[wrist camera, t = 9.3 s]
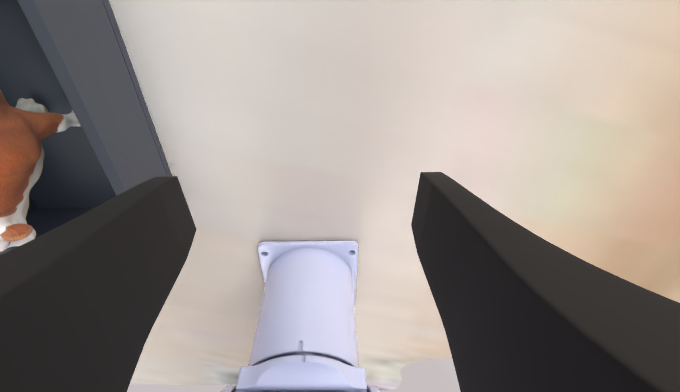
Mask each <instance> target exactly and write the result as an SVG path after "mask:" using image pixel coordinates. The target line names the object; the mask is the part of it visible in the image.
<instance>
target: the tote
mask: <svg viewBox="0 0 680 392" xmlns="http://www.w3.org/2000/svg"><path fill="white" fill-rule="evenodd" d="M0 90H1V92H2V94H3V96H4V97H5V99H6V101H7V102H8V104H9V105H10V106H12V107H14V108H15V107H16V105H17V101H18V100H19V99H21V98H24V99H33V100H34V101H35V103H37V104H43V105H44V106H46V108H47V109H48V111H49V113H58V114H69V113H70V112H71V111H72V110H73V112H74V114H75V116H76V117H77V119H78V121H79V123H80V125H81V126H80V127H77V126H71V127H68V128H67V129H66V130H65V131H63V132H54V133H52V134H51V135H49V136H47V137H46V138H44V139H43V140H42V141H41V144H42V147H43V149H44V153H45V155H44V159H43V169H42V172H41V175H40V177H39V179H38V181H37V182H36V183H35V184H34V186H33V187H32V188H31V190H30V192H29V208H28V211H27V215H26V222H27V224H28V225H31V226H32V227H33V229H34V230H35V231H36V237H35V238H37V237H39V236H41V235H43V234H45V233H47V232H49V231H51V230H53V229H55V228H57V227H59V226H61V225H63V224H65V223H67V222H69V221H71V220H73V219H75V218H77V217H79V216H80V215H82V214H84V213H86V212H88V211H90V210H92V209H93V208H95V207H97V206H99V205H101V204H103V203H105V202H106V201H108V200H110V199H112V198H114V197H116V196H117V195H119V194H121V193H123V192H125V191H127V190H129V189H131V188H133V187H135V186H136V185H138V184H141V183H143V182H145V181H147V180H149V179H152V178H154V177H170V176H172V175H171V173H170V170H169V167H168V164H167V162H166V159H165V156H164V153H163V150H162V148H161V145H160V142H159V139H158V137H157V134H156V131H155V128H154V126H153V123H152V120H151V117H150V114H149V112H148V109H147V106H146V103H145V101H144V98H143V95H142V92H141V90H140V87H139V84H138V81H137V78H136V76H135V73H134V70H133V67H132V65H131V62H130V59H129V56H128V53H127V51H126V48H125V45H124V42H123V40H122V37H121V34H120V31H119V29H118V26H117V23H116V20H115V17H114V15H113V12H112V9H111V6H110V4H109V1H108V0H0ZM16 247H19V246H13V247H9V248H7V249H5V250H4V251H1V252H0V255H1V254H3V253H6V252H8V251H10V250H12V249H14V248H16Z"/></svg>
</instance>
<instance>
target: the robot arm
mask: <svg viewBox="0 0 680 392" xmlns="http://www.w3.org/2000/svg"><path fill="white" fill-rule="evenodd" d="M411 225H412V230H413V235H414V240H415V244H416V249H417V253H418V256H419V259H420V262H421V264H422V267H423V270H424V273H425V276H426V278H427V281H428V284H429V286H430V289H431V292H432V295H433V297H434V300H435V303H436V305H437V308H438V311H439V314H440V316H441V319H442V322H443V325H444V328H445V331H446V335H447V338H448V342H449V346H450V350H451V354H452V358H453V362H454V366H455V370H456V374H457V378H458V382H459V386H460V391H461V392H680V303H678V302H676V301H673V300H671V299H668V298H666V297H663V296H661V295H659V294H656V293H654V292H651V291H649V290H647V289H644V288H642V287H640V286H637V285H635V284H633V283H631V282H629V281H626V280H624V279H622V278H620V277H618V276H615V275H613V274H611V273H609V272H607V271H604V270H602V269H600V268H598V267H596V266H594V265H592V264H590V263H588V262H586V261H584V260H582V259H580V258H578V257H576V256H574V255H572V254H570V253H568V252H566V251H564V250H562V249H561V248H559V247H557V246H555V245H553V244H551V243H549V242H547V241H546V240H544V239H542V238H540V237H539V236H537V235H535V234H533V233H532V232H530V231H529V230H527V229H525V228H524V227H522V226H520V225H519V224H517V223H516V222H514V221H512V220H511V219H509V218H508V217H506V216H505V215H503V214H502V213H500V212H499V211H497V210H496V209H494V208H493V207H491V206H490V205H488V204H487V203H485V202H484V201H482V200H481V199H480V198H478V197H477V196H475V195H474V194H473V193H471V192H470V191H468V190H467V189H466V188H464V187H463V186H461V185H460V184H458V183H457V182H456V181H454V180H453V179H451V178H450V177H448V176H447V175H445V174H443V173H442V172H421V174H420V179H419V185H418V191H417V196H416V202H415V207H414V213H413V219H412V224H411ZM195 232H196V227H195V224H194V222H193V219H192V216H191V213H190V211H189V208H188V205H187V203H186V200H185V197H184V194H183V192H182V189H181V186H180V183H179V181H178V178H177V176H170V177H154V178H152V179H149V180H147V181H145V182H143V183H141V184H138V185H136V186H135V187H133V188H131V189H129V190H127V191H125V192H123V193H121V194H119V195H117V196H116V197H114V198H112V199H110V200H108V201H106V202H105V203H103V204H101V205H99V206H97V207H95V208H93V209H92V210H90V211H88V212H86V213H84V214H82V215H80V216H79V217H77V218H75V219H73V220H71V221H69V222H67V223H65V224H63V225H61V226H59V227H57V228H55V229H53V230H51V231H49V232H47V233H45V234H43V235H41V236H39V237H37V238H35V239H33V240H31V241H29V242H27V243H25V244H23V245H21V246H19V247H16V248H14V249H12V250H10V251H8V252H6V253H3V254H1V255H0V392H127V389H128V386H129V384H130V381H131V378H132V376H133V373H134V370H135V368H136V365H137V362H138V360H139V357H140V355H141V352H142V349H143V347H144V344H145V342H146V340H147V338H148V335H149V333H150V331H151V329H152V327H153V325H154V323H155V321H156V319H157V317H158V315H159V313H160V311H161V309H162V307H163V305H164V303H165V301H166V299H167V297H168V295H169V293H170V291H171V289H172V287H173V285H174V283H175V281H176V279H177V277H178V275H179V273H180V271H181V269H182V267H183V265H184V263H185V261H186V259H187V256H188V253H189V251H190V248H191V245H192V242H193V238H194V235H195ZM257 250H258V254H259V259H260V264H261V269H262V274H263V279H264V284H265V289H264V293H263V298H262V303H261V308H260V312H259V317H258V322H257V327H256V331H255V336H254V341H253V345H252V350H251V355H250V360H249V364H248V366H247V367H241V368H240V372H239V376H238V380H237V385H230V386H226V387H225V388H224V389H223V390H222V391H221V392H380V390H379V389H378V387H377V386H373V385H367V384H366V373H365V368H364V367H359V359H358V346H357V334H356V321H355V293H356V277H357V262H358V243H357V242H356V241H286V242H261V243H259V244H258V248H257ZM351 250H353V251H352V252H351ZM264 252H267V253H264Z"/></svg>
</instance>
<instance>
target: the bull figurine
mask: <svg viewBox="0 0 680 392" xmlns="http://www.w3.org/2000/svg"><path fill="white" fill-rule="evenodd" d="M71 126H77V127H80V126H81V125H80V123H79V121H78V119H77V117H76V116H75V114H74V112H73V110H72V111H71V112H70V113H69V114H58V113H49V111H48V109H47V108H46V106H44V105H43V104H37V103H35V101H34V100H33V99H24V98H21V99H19V100H18V101H17V105H16V107H15V108H14V107H12V106H10V105H9V104H8V102H7V101H6V99H5V97H4V96H3V94H2V92H1V90H0V252H1V251H4V250H5V249H7V248H9V247H13V246H21V245H23V244H25V243H27V242H29V241H31V240H33V239H35V237H36V231H35V230H34V229H33V227H32V226H31V225H28V224H27V222H26V215H27V211H28V208H29V192H30V190H31V188H32V187H33V186H34V184H35V183H36V182H37V181H38V179H39V177H40V175H41V172H42V169H43V159H44V155H45V153H44V149H43V147H42V144H41V141H42V140H43V139H44V138H46V137H47V136H49V135H51V134H52V133H54V132H63V131H65V130H66V129H67V128H68V127H71Z"/></svg>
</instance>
